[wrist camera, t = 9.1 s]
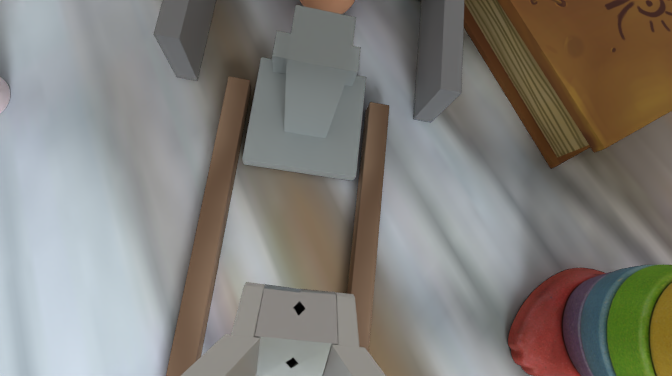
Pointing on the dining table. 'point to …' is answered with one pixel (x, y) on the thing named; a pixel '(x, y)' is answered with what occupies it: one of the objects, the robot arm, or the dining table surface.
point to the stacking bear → (597, 324)
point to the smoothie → (4, 94)
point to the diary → (577, 66)
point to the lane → (216, 213)
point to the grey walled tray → (432, 62)
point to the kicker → (309, 99)
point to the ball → (329, 5)
